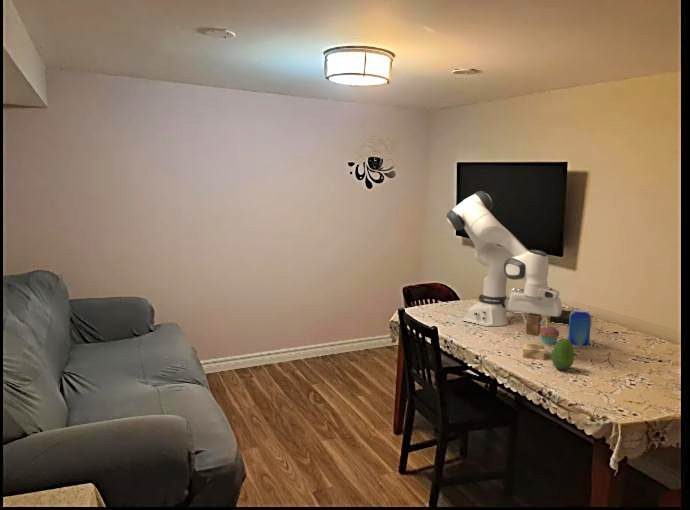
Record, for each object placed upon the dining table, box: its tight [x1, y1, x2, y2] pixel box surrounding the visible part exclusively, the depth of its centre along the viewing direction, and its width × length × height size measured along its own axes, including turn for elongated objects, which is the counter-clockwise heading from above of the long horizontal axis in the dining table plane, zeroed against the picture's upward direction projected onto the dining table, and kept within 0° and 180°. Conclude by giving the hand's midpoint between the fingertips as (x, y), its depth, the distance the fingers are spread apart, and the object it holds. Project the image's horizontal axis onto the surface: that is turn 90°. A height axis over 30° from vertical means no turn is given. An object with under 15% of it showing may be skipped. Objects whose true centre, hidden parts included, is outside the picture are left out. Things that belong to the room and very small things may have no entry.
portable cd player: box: [549, 309, 572, 326], centre depth 268 cm, size 16×17×4 cm
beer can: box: [567, 307, 592, 349], centre depth 226 cm, size 8×8×16 cm
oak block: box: [522, 342, 545, 361], centre depth 215 cm, size 8×8×4 cm
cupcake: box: [538, 317, 560, 345], centre depth 232 cm, size 9×8×12 cm
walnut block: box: [525, 313, 542, 337], centre depth 213 cm, size 4×4×8 cm
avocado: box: [551, 338, 575, 371], centre depth 199 cm, size 8×8×12 cm
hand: (533, 324), depth 213 cm, fingers closed on walnut block, 4 cm apart
